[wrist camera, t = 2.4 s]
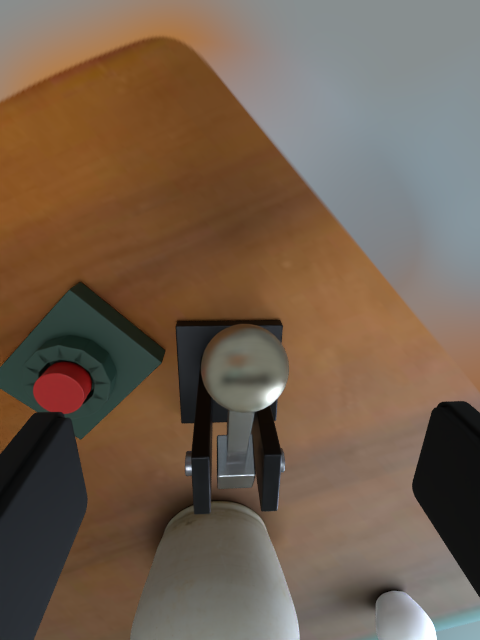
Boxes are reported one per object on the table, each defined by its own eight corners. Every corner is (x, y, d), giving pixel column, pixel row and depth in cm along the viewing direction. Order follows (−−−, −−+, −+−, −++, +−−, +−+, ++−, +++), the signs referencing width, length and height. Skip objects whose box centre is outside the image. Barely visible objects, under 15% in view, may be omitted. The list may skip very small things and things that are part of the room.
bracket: (177, 320, 29) (148, 416, 17) (280, 319, 29) (323, 411, 17) (182, 415, 32) (162, 548, 21) (274, 413, 33) (306, 541, 21)
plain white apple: (421, 601, 47) (460, 679, 40) (374, 618, 48) (403, 697, 40) (408, 575, 44) (446, 653, 37) (359, 593, 45) (386, 673, 38)
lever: (200, 306, 12) (197, 386, 10) (288, 305, 12) (303, 383, 10) (209, 444, 23) (209, 496, 21) (256, 443, 23) (260, 494, 21)
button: (62, 352, 25) (51, 364, 23) (101, 380, 26) (94, 393, 25) (34, 381, 26) (22, 395, 24) (73, 408, 27) (64, 422, 25)
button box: (80, 281, 27) (58, 296, 23) (165, 350, 30) (158, 374, 26) (3, 367, 29) (-27, 393, 26) (89, 423, 32) (72, 454, 28)
